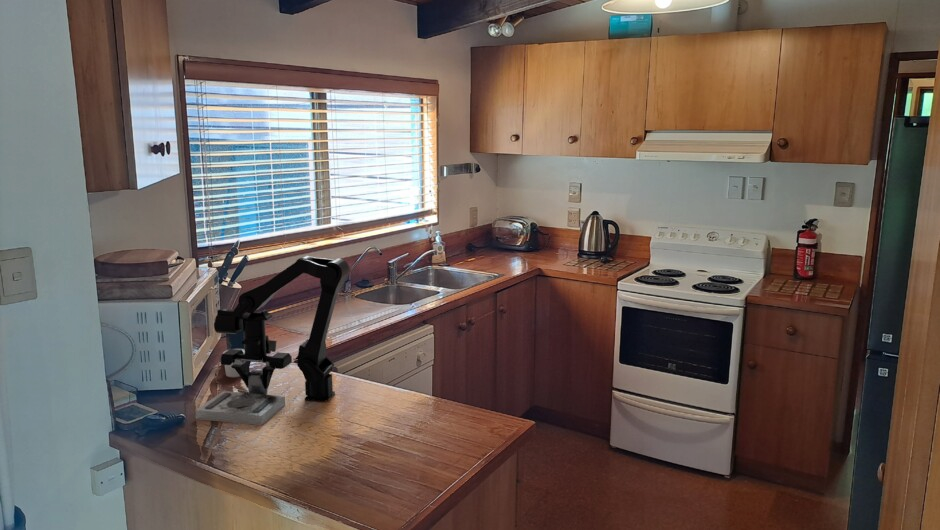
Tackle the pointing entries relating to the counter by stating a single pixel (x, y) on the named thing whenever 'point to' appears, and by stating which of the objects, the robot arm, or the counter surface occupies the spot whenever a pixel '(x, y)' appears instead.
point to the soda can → (235, 341)
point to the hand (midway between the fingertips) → (257, 388)
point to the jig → (254, 413)
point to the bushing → (256, 382)
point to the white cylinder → (231, 371)
